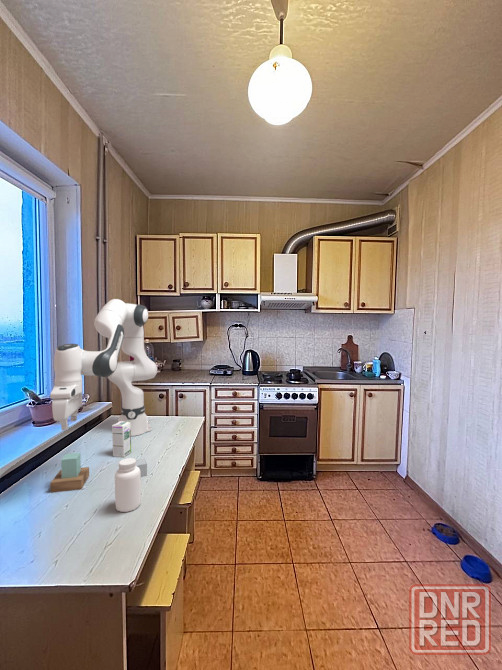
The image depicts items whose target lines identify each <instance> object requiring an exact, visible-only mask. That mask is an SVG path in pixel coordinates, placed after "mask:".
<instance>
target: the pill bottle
mask: <svg viewBox="0 0 502 670" xmlns="http://www.w3.org/2000/svg"><path fill="white" fill-rule="evenodd" d="M136 460H137V459H136V458H134V457H127V458H124V459H121V460H120V461H119V462H118V469H117V470H116V471H115V473H114V496H115V498H114V499H115V501H114V502H115V503H114V504H115V509H116V510H117V511H118V512H121V513H125V512H126V513H127V512H131V511H133V510H137V508H139V507H140V506H141V504H142V483H141V481H142V480H141V479H142V477H141V474H140V469H139V468H138V467H137V466H136Z"/></svg>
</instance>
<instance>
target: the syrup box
mask: <svg viewBox="0 0 502 670" xmlns="http://www.w3.org/2000/svg"><path fill="white" fill-rule="evenodd" d="M111 431H112V432H111V434H112V435H111V437H112V456H113V457H115V458H125V457H126V456H127V455H128V456H129V455H130V454H131V453H132V439H131V438H132V436H131V425H130V422H127V421H120V422H116V423H114V424H112V425H111Z"/></svg>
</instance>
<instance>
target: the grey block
mask: <svg viewBox="0 0 502 670" xmlns="http://www.w3.org/2000/svg"><path fill="white" fill-rule="evenodd" d="M146 460H147V459H146V458H142V459H136V466H137V467H138V468H139V469H140V474H141V478H143V477H147V476H148V463H147V461H146Z"/></svg>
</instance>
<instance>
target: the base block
mask: <svg viewBox="0 0 502 670" xmlns="http://www.w3.org/2000/svg"><path fill="white" fill-rule="evenodd" d="M89 478H90V466H88V467H87V466H86V467H81V471H80V473H79V474H78V476H77V477H72V478H63V479H62V472H61V469H60V470H59V471H58V472H57V474H56V476H54V477H53V479H52V480H51V481H50V493H52V494H53V493H59V492H70V491H82V490H83V487H84V485H86V483H87V481H88V479H89Z"/></svg>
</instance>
